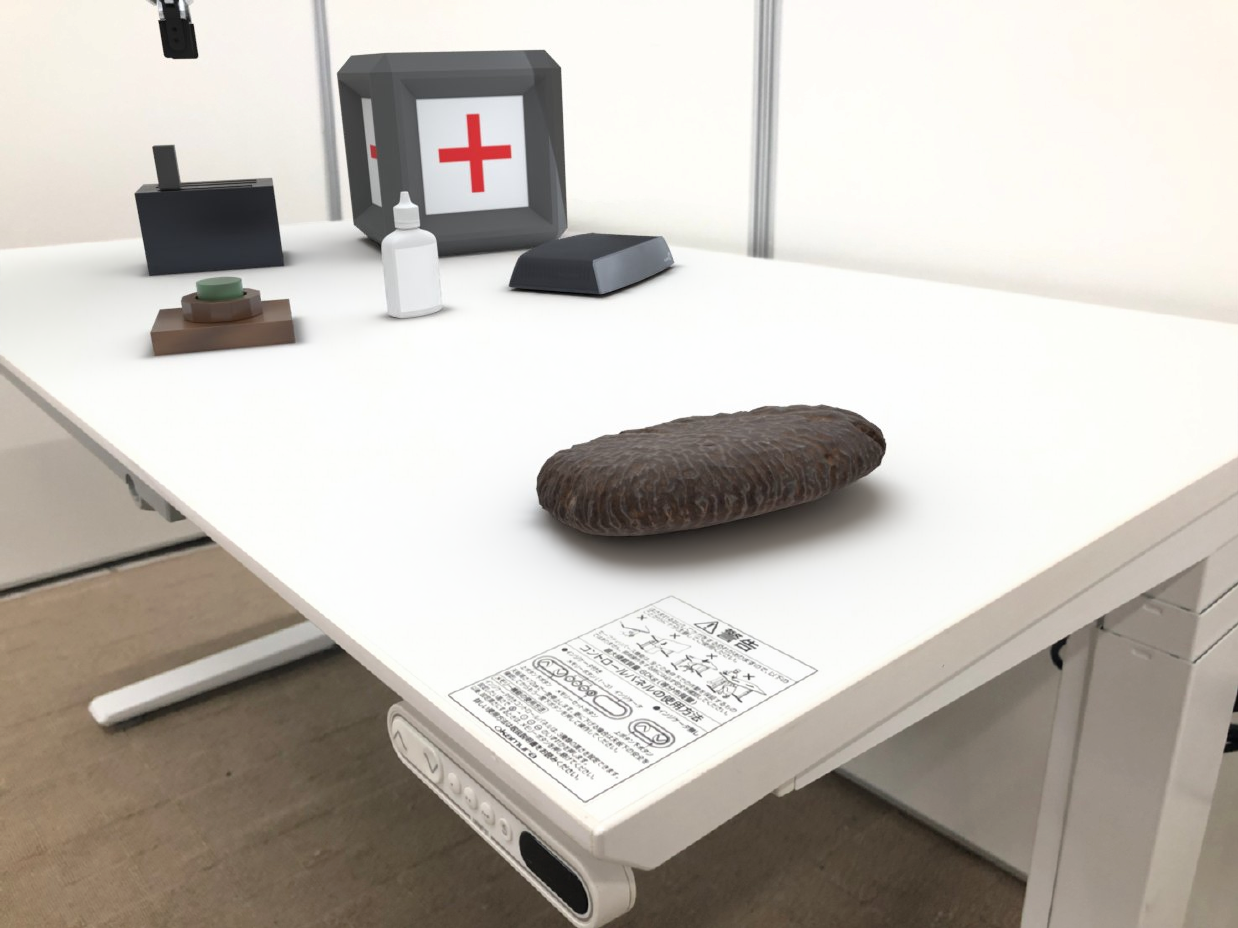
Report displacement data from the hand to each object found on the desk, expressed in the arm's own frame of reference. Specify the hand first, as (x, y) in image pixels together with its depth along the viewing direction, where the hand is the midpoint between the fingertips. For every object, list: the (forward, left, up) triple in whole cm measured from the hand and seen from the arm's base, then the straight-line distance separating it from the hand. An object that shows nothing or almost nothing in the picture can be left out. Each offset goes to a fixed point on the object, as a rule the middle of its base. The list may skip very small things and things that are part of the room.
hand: (182, 58), depth 125 cm
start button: (+2, -40, -21) cm, 45 cm away
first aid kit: (+32, +7, -25) cm, 42 cm away
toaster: (0, +3, -25) cm, 25 cm away
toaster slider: (-4, 0, -15) cm, 15 cm away
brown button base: (+2, -40, -25) cm, 47 cm away
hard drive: (+42, -27, -25) cm, 56 cm away
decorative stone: (+29, -93, -25) cm, 100 cm away
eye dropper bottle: (+20, -36, -25) cm, 49 cm away
